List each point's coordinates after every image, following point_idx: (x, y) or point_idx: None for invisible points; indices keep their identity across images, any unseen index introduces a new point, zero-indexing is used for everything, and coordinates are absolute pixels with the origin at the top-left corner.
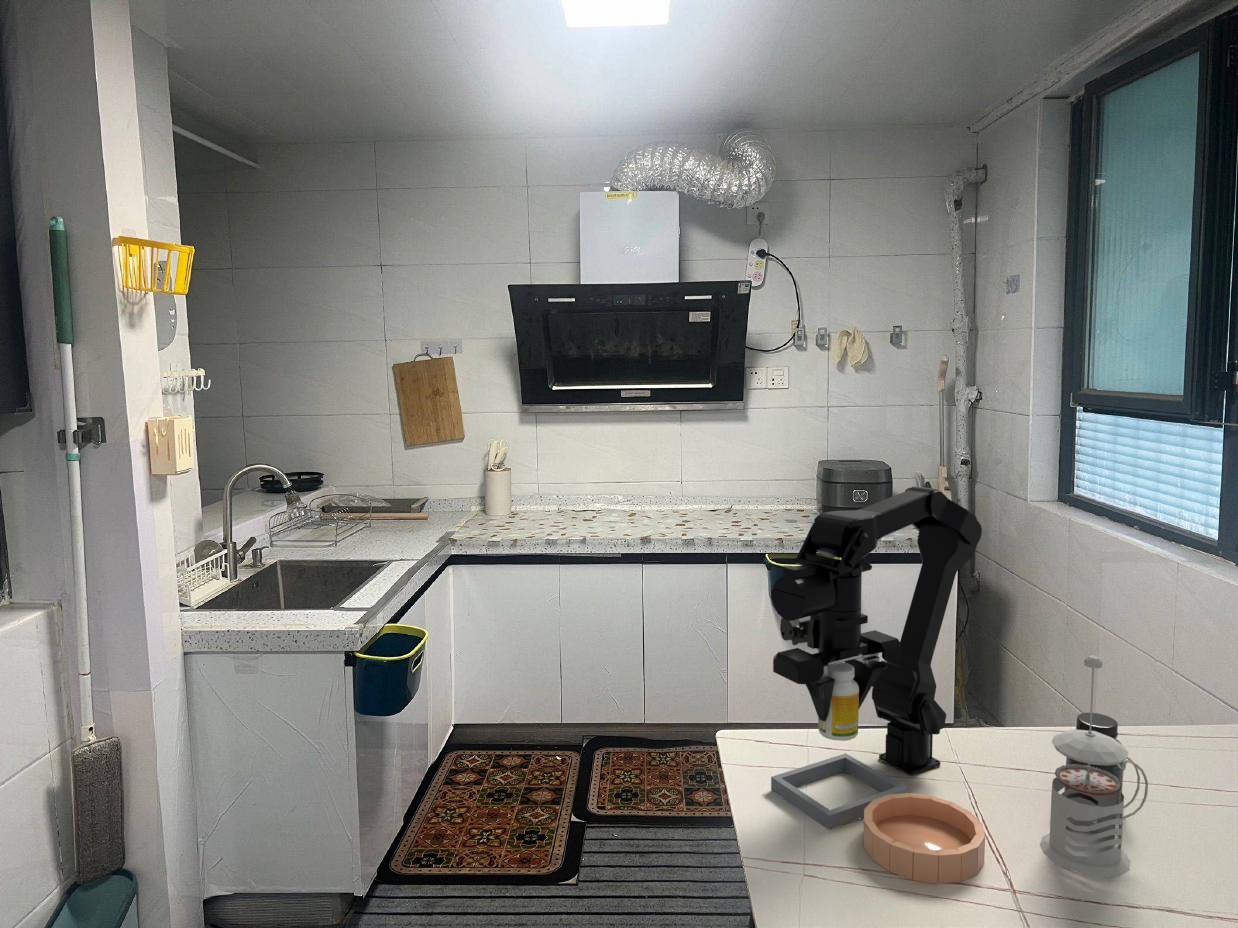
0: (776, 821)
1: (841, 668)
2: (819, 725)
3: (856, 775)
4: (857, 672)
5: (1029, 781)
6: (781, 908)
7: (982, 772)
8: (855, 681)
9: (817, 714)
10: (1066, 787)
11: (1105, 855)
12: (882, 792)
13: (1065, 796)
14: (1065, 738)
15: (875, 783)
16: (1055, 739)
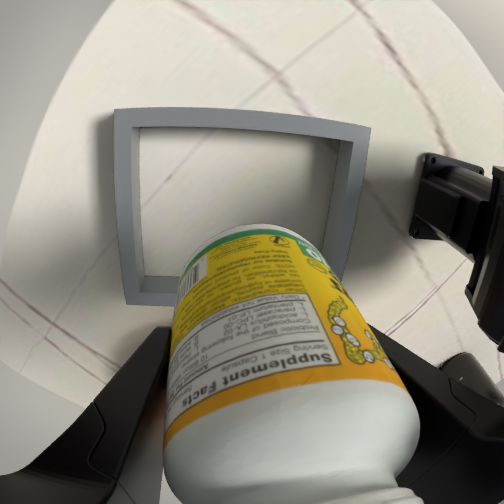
0: (63, 218)
1: None
2: (179, 286)
3: (335, 174)
4: (441, 485)
5: (469, 321)
6: (7, 356)
7: (468, 282)
8: (417, 444)
9: (148, 337)
10: (451, 375)
11: None
12: None
13: (447, 365)
14: None
15: (329, 232)
16: None
